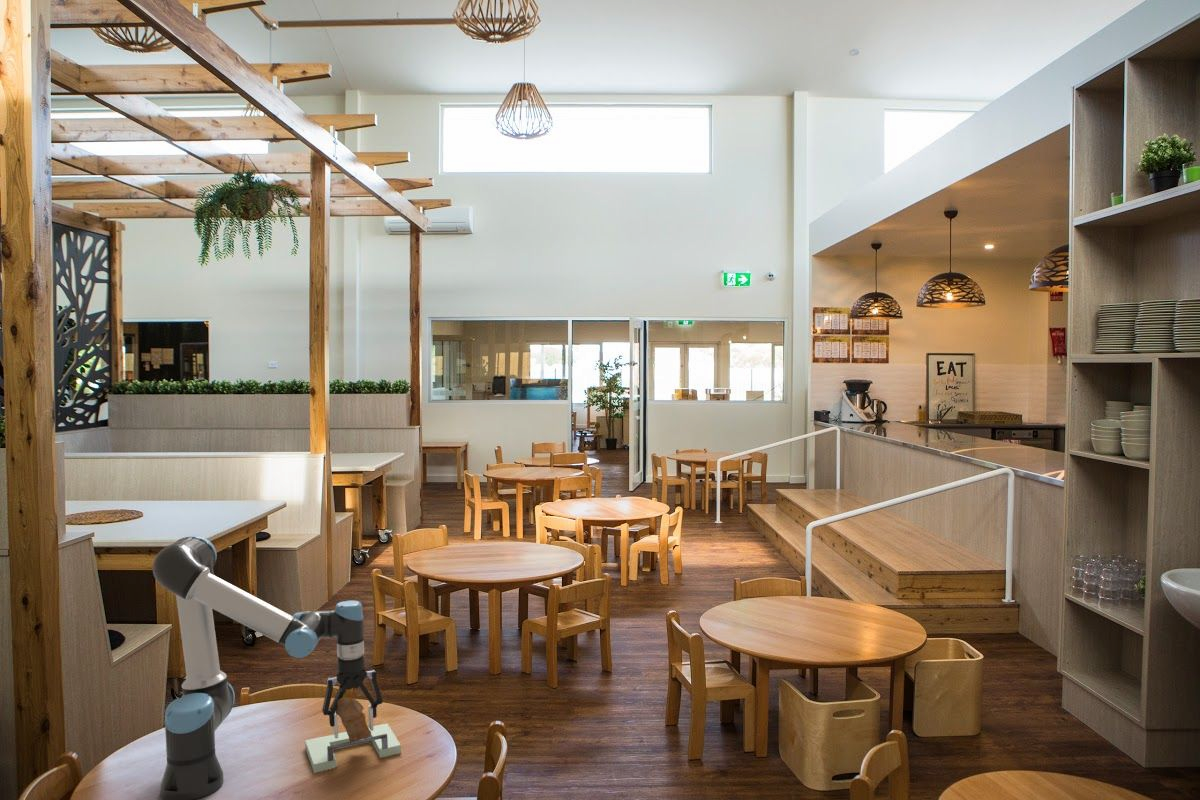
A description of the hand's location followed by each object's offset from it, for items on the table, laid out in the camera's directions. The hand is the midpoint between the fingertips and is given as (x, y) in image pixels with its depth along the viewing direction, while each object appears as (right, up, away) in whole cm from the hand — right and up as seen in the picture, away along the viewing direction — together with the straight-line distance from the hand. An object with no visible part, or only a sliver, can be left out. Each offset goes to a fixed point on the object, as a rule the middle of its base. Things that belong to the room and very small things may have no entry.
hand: (353, 732), depth 242 cm
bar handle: (+3, -4, -5) cm, 7 cm away
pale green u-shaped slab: (-1, -6, +2) cm, 6 cm away
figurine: (0, -3, 0) cm, 3 cm away
